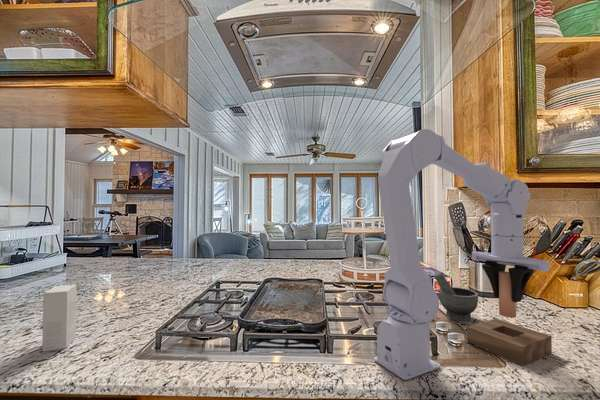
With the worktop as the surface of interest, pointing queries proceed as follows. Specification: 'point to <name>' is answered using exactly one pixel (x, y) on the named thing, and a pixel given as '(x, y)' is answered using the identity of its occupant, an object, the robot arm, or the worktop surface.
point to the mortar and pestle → (456, 299)
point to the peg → (506, 296)
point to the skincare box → (59, 317)
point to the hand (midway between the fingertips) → (507, 299)
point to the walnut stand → (510, 341)
